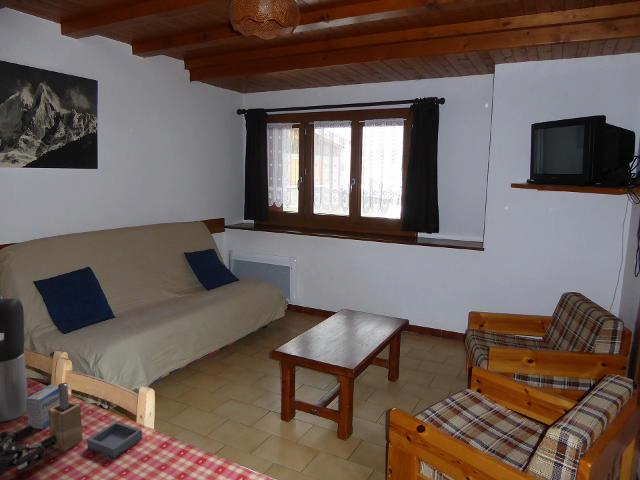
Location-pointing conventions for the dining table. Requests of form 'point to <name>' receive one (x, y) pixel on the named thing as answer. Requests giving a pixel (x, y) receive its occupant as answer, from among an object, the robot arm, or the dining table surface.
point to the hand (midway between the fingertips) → (43, 433)
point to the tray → (114, 439)
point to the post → (63, 397)
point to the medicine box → (41, 406)
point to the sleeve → (66, 425)
